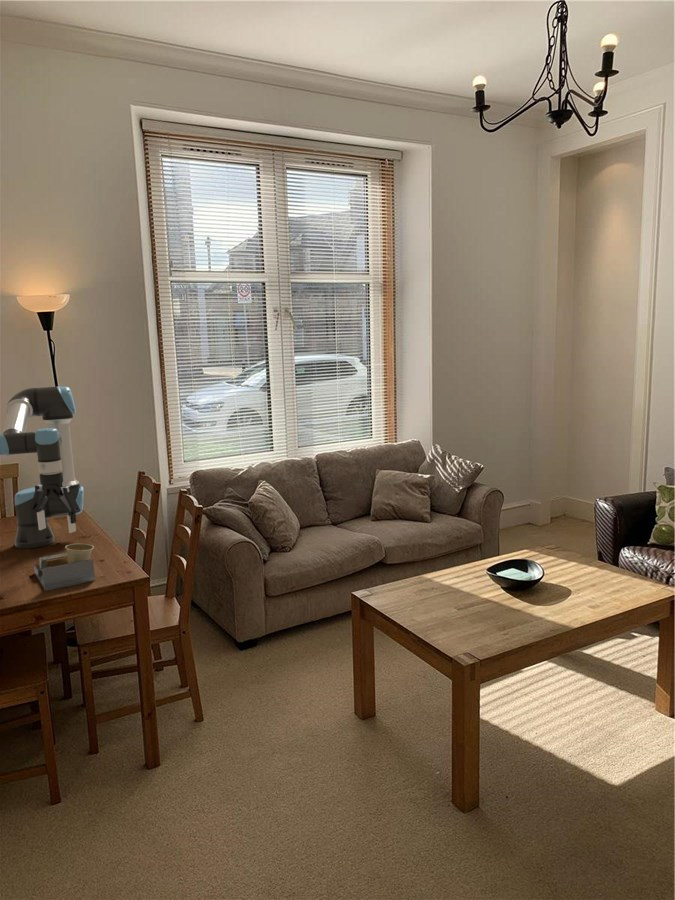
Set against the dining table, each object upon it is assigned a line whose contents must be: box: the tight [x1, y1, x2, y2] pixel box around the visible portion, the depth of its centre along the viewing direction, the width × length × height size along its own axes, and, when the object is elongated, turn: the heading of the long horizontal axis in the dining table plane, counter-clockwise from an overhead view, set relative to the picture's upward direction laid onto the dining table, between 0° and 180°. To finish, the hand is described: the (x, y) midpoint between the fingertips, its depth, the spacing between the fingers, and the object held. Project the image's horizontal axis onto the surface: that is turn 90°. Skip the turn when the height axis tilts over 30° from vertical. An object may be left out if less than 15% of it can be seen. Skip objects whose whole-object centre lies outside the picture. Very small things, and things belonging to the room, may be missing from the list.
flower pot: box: [64, 543, 95, 564], centre depth 232 cm, size 9×9×9 cm
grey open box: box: [33, 558, 96, 592], centre depth 233 cm, size 22×16×8 cm
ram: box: [38, 552, 68, 570], centre depth 238 cm, size 5×13×4 cm, turn 122°
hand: (57, 530), depth 236 cm, fingers open, 13 cm apart
